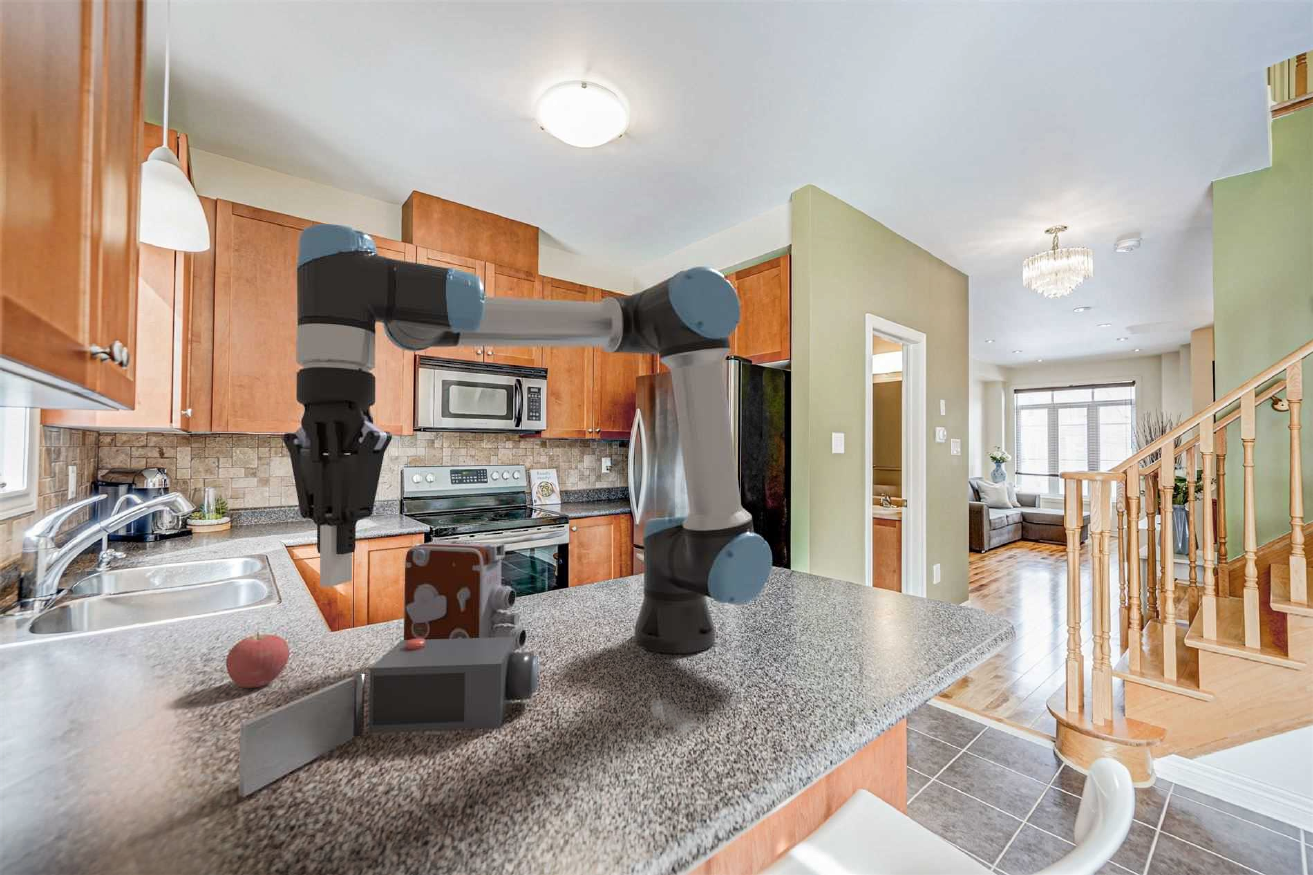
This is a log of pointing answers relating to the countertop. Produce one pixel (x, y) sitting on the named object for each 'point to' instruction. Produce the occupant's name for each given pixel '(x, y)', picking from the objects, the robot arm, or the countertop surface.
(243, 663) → the apple
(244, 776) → the side door
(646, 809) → the countertop surface
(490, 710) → the camera block
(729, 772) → the countertop surface
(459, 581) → the cine camera
